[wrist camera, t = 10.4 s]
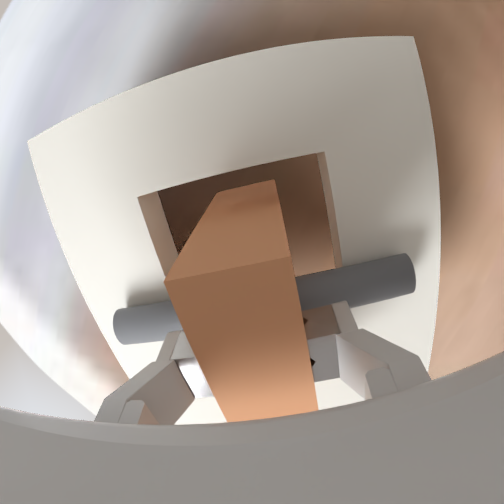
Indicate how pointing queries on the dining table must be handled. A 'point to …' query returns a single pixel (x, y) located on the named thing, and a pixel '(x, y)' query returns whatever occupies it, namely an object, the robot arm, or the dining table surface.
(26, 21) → the dining table surface
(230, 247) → the notched wooden block
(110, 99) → the shelf
